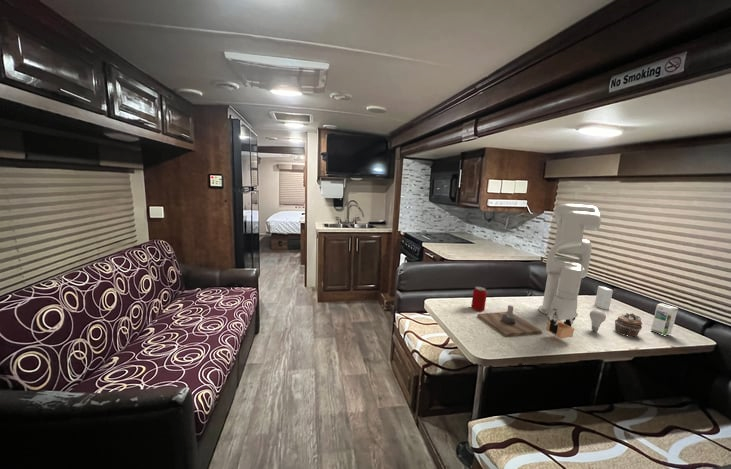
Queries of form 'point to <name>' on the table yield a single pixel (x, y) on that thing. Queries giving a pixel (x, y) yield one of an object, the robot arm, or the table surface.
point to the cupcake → (628, 324)
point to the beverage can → (479, 298)
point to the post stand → (509, 323)
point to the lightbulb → (597, 318)
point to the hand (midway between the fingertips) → (559, 331)
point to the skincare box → (603, 297)
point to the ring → (562, 330)
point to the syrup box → (664, 319)
